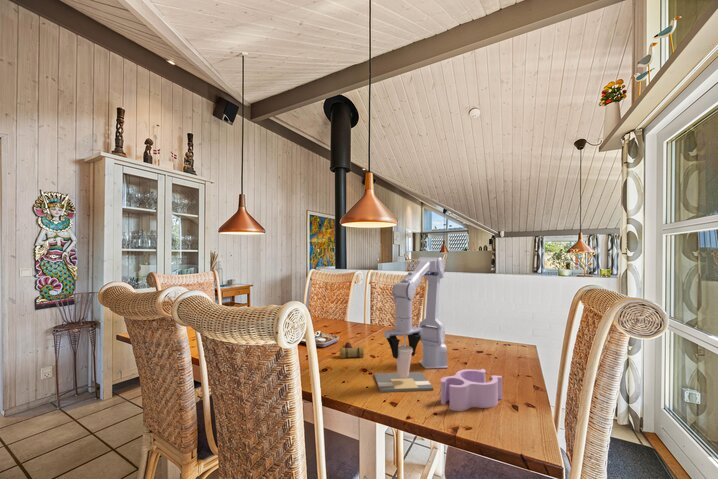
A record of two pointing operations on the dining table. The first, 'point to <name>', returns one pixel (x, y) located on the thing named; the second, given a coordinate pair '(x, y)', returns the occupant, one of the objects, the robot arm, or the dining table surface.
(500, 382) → the clip
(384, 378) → the board
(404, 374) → the smoothie
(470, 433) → the dining table surface
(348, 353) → the gavel
